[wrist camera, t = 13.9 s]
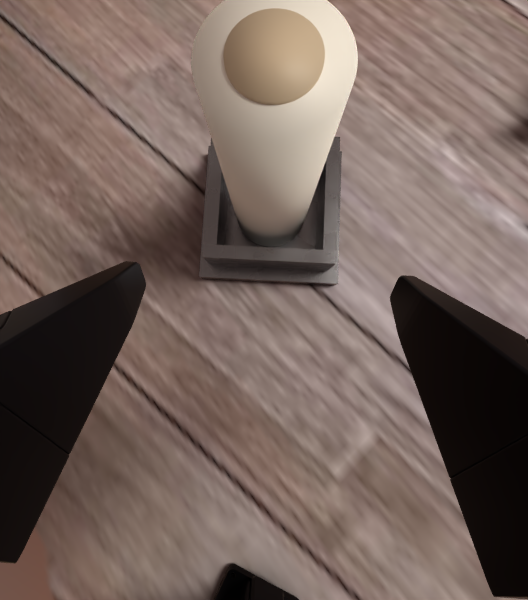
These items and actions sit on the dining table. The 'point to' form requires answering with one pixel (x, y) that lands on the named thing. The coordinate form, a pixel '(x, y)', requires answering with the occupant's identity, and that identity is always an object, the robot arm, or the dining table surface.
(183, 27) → the dining table surface
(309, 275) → the holder
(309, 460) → the dining table surface
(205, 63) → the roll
